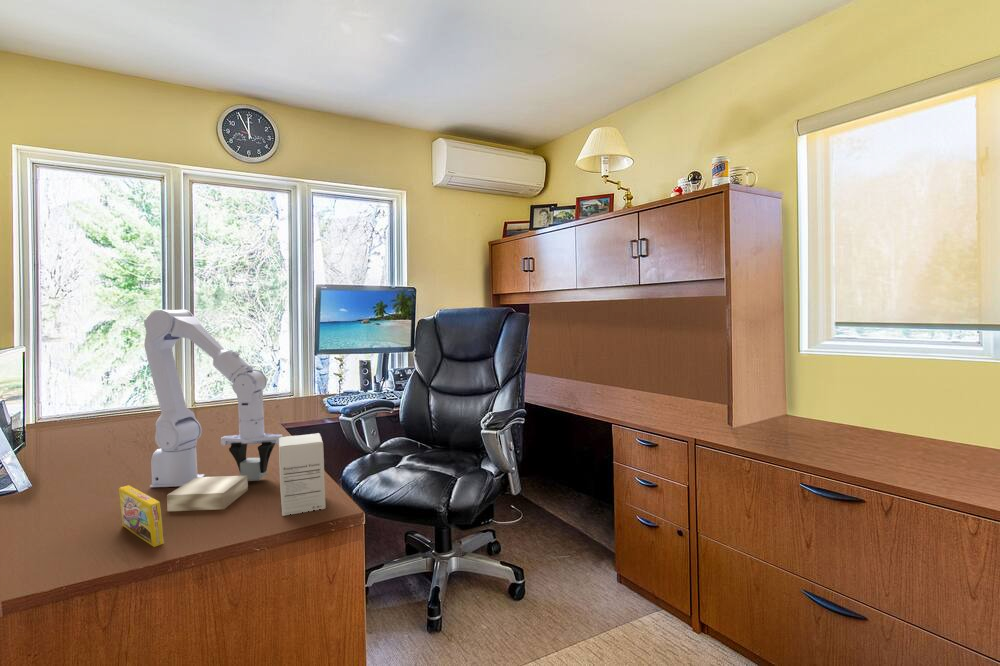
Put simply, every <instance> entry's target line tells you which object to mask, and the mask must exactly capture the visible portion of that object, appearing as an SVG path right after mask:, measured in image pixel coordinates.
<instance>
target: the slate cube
mask: <svg viewBox="0 0 1000 666" xmlns="http://www.w3.org/2000/svg"><path fill="white" fill-rule="evenodd" d="M239 474H240V475H239V476H244V475H247V481H260V480H261V479H262V478H264V477H266V475H267V471H265V472H264V473H261V470H260V457H246V459H245V460H244V461H242V462H241V463H240V471H239Z"/></svg>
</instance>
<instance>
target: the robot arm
mask: <svg viewBox="0 0 1000 666" xmlns="http://www.w3.org/2000/svg"><path fill="white" fill-rule="evenodd" d="M143 324H144V327H145V331H146V332H145V338H144V344H143V345H144V349H145V350H144V351H145V354H146V358H147V363H148V365H149V370H150V374H151V378H152V382H153V386H154V389H155V394H156V399H157V401H158V405H159V409H160V414H159V417H158V418H157V420H156V421H155V423H154V425H155V434H154V439H155V440H154V441H155V444H156V445H157V446H158V448H157V449H156V450H155V451H154V452H153V453H152V456H151V460H150V466H151V468H150V470H151V484H150V485H149V487H150V488H169V487H181V486H183V485H184V484H186V483H188V482H189V481H191V480H193V479H194V478H196V477H206V476H205V473H202V474H201V473H200V474H198V459H197V458H198V457H197V444H198V439H199V438H200V437H201V436H202V431H203V429H202V425H201V423H200V422H199V421H198V419H197V418H196V414H195V412H194V411H192V410H191V409H189V408H188V407H187V406H186V402H185V397H184V393H183V388H182V385H181V381H180V377H179V376H180V375H179V372H178V370H177V369H178V368H177V365H176V360H175V358H174V353H173V349H172V348H173V347H174V346H175V344H176V343H177V342H178V341H180V340H181V339H182V338H184V339H188V340H189V341H191V342H192V343H193V344H195V345H196V347H198V348H200V350H202V351H203V353H204V352H205V353H206V355H208V356H209V357H211V359H212V365H213V367H214V368H215V369H216V370H217V371H218V372H219V373H220V374H222V375H223V377H225V378H226V379H227V380H228V381H229V382H230V383H231V387H232V388H231V389H232V391H233V392H234V394H235V395H236V398H237V404H238V405H237V406H238V434H235V435H234V434H233V435H224V436H222V437H220V446H226V445H230V447H229V448H228V451H229V453H230V454H231V455H232V457H233V458H234V460H235V462H236V465H237V468H238V471H239V472H240V463H241V462H242V461H244V460H245V459H247V448H248V445H254V444H255V445H257V444H259V445H258V446H257V450H258V455H259V458H260V470H261V473H264V472H265V471H266V472H267V471H268V464H269V459H270V456H271V454H272V452H273V449H274V447H275V445H276V444H277V445H279V438H280V437H284V436H283V434H277V433H265V412H264V390H265V388H266V386H267V384H268V380H267V377H266V375H265V374H264V372H263V371H262V370H260V369H254V366H252V365H251V364H248V363H247V362H246V361H245V359H243V358H241V357H240V355H241V354H240V353H239V351H236V350H235V351H234V350H233V349H225V348H224V347H223V346H222V345H221V344H220V342H218V341H217V340H216V339H215V338H214V337H213V335H211V333H210V332H209V331H207V330H206V328H205V327H204V326H203V325H202V324H201V322H200V319H199V318H198V317H196V316H194V314H193V313H192V312H191V311H189V310H188V309H155V310H153V311H151V312H150V314H149V315H148V316H147V317H146V319H145V320H144V322H143Z"/></svg>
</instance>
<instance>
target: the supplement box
mask: <svg viewBox="0 0 1000 666" xmlns="http://www.w3.org/2000/svg"><path fill="white" fill-rule="evenodd" d="M324 457H325V456H324V442H323V439H322V436H321V433H319V432H317V433H309V434H301V435H300V434H299V435H286V436H283V437H280V438H279V444H278V467H279V468H278V469H279V488H280V489H279V490H280V501H281V505H280V506H281V516H283V517H285V516H291V515H296V514H297V515H298V514H302V512H303V513H308V511H309V512H313V510H315V511H320V510H319V509H321V510H325V509H326V507H327V506H326V486H325V485H326V484H325V483H326V482H325V480H326V479H325V459H324ZM290 514H291V515H290Z"/></svg>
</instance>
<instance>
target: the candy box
mask: <svg viewBox="0 0 1000 666" xmlns="http://www.w3.org/2000/svg"><path fill="white" fill-rule="evenodd" d="M118 495H119V505H120V513H121V521H122V523H121V524H122V527H124V528H125V529H127V530H128V531H130V532H131V533H132V534H134V535H135V536H137V537H138V538H139V539H142V541H145V542H146V543H147V544H149V545H150V546H152V547H153V548H155V547H158V546H161V545H164V543H165V541H164V533H163V531H164V530H163V521H162V520H163V519H162V518H163V517H162V509H161V502H160V501H159V500H158V499H155V498H153V497H152V496H150V495H148V494H146V493H144V492H142V491H140V490H139V489H137V488H134V487H133V486H132V485H130V484H128V485H125V486H120V487H119V488H118Z"/></svg>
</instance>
